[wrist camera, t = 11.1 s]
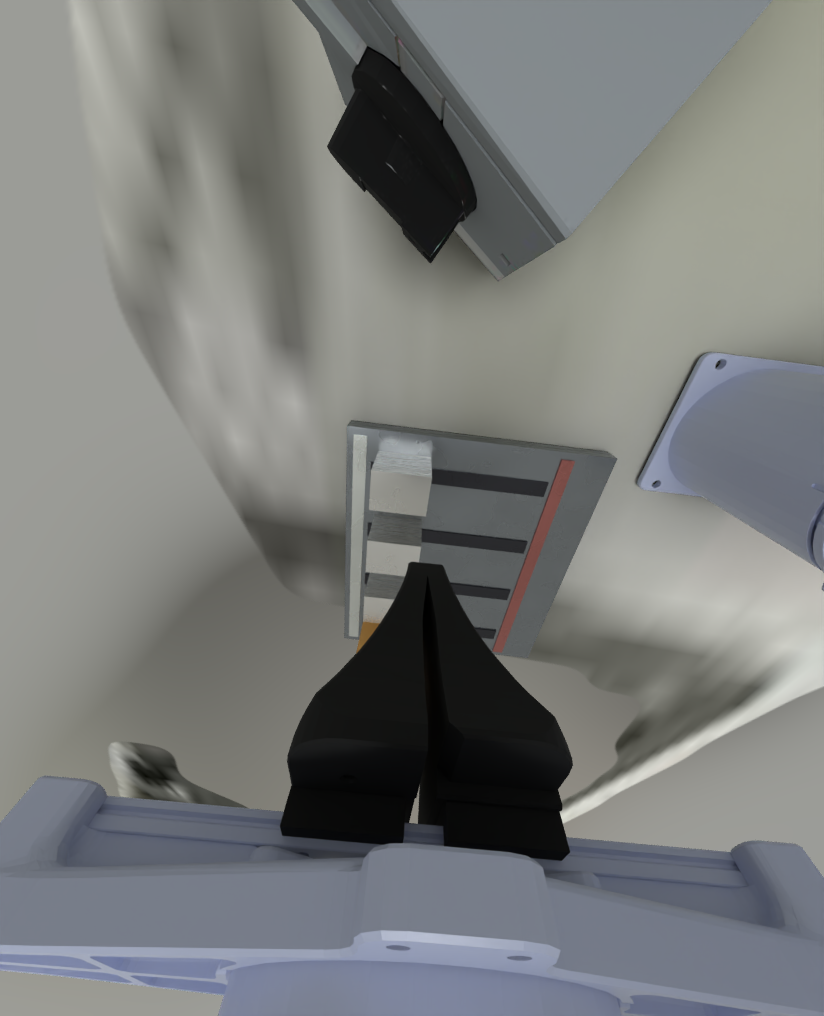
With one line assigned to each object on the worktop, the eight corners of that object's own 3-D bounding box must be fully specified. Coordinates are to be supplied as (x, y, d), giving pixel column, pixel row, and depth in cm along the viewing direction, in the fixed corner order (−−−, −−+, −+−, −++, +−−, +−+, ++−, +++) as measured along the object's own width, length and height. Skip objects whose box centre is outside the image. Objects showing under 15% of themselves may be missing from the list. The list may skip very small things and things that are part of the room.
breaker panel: (607, 451, 20) (647, 479, 16) (523, 646, 29) (537, 691, 26) (351, 420, 20) (334, 441, 16) (347, 626, 29) (335, 670, 25)
